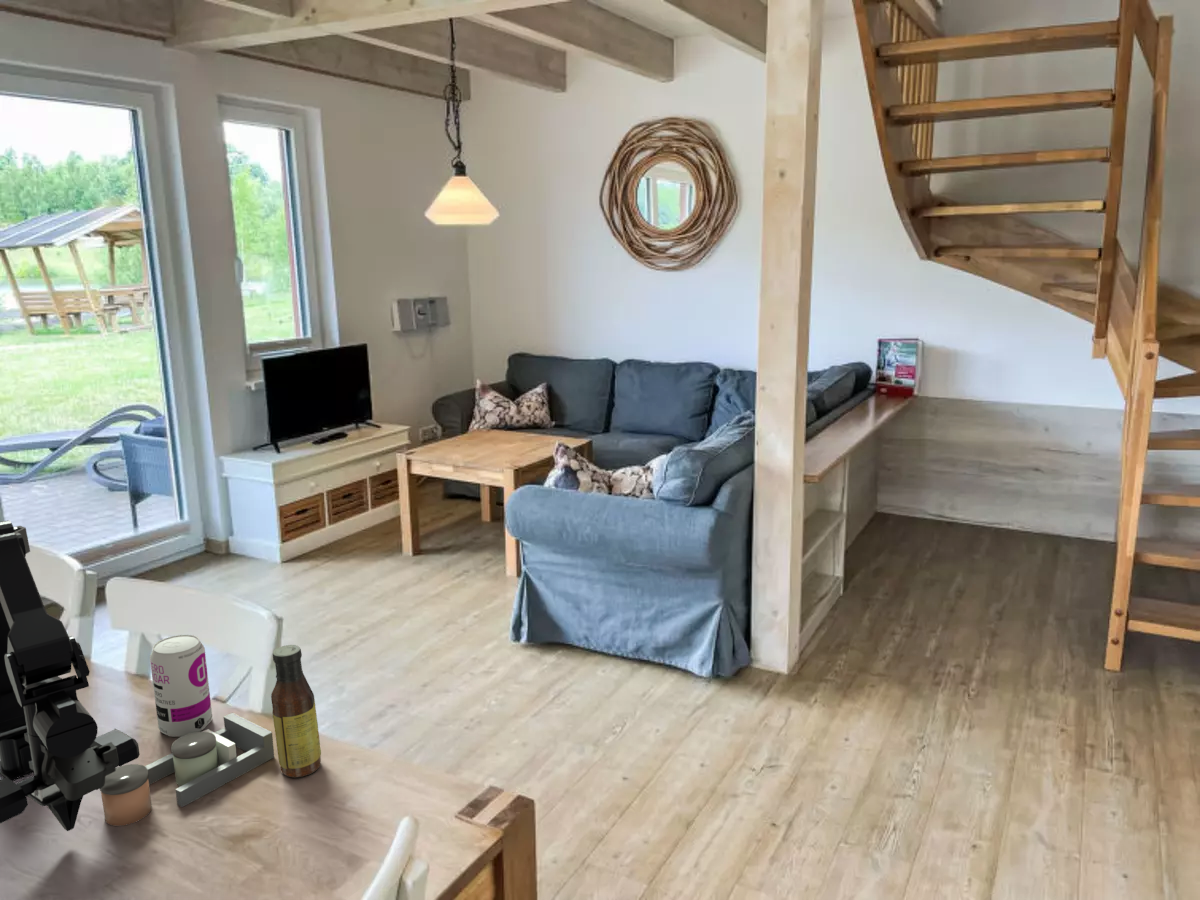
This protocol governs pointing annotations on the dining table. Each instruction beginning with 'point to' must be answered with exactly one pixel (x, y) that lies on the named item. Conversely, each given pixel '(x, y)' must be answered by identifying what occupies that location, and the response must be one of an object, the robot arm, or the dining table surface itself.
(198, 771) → the jar sage
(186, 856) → the dining table surface
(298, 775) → the sauce bottle
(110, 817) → the jar terracotta
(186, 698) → the supplement can
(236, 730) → the lane
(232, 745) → the bar
